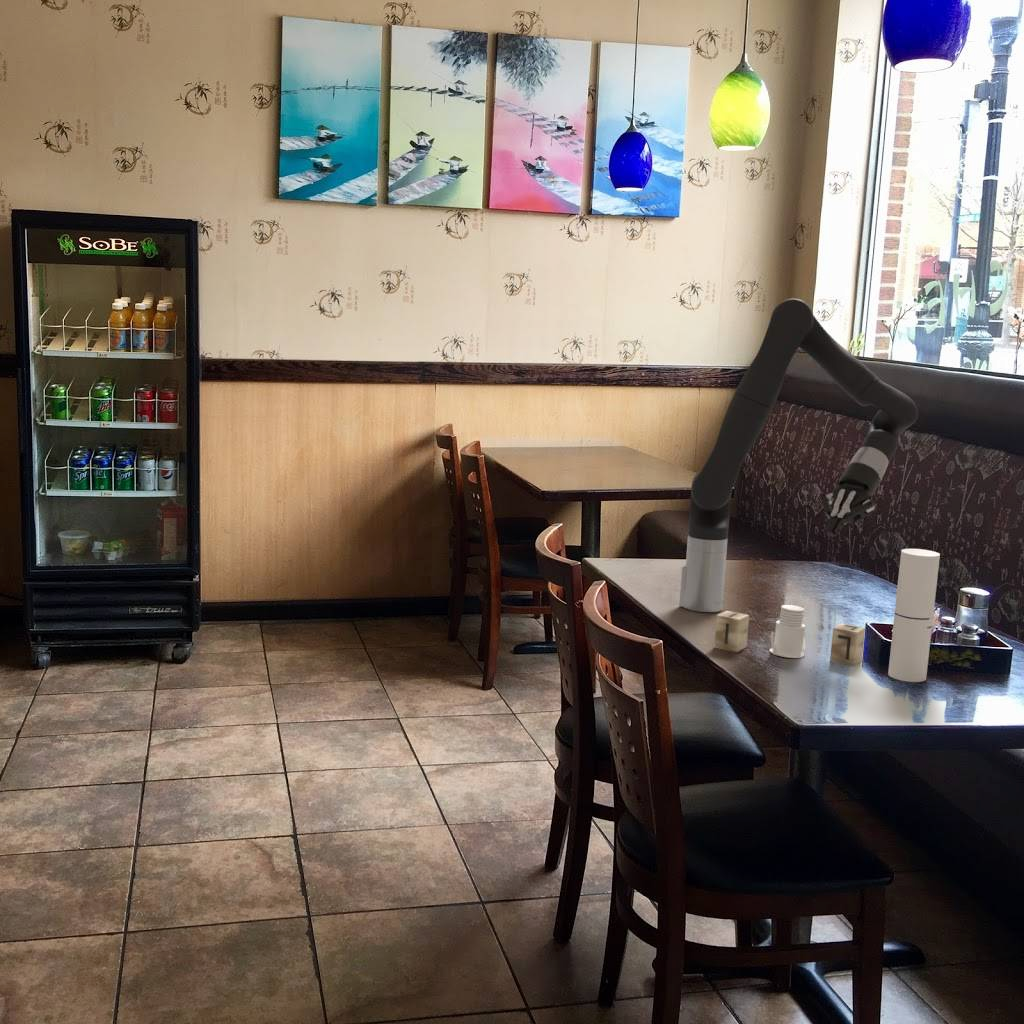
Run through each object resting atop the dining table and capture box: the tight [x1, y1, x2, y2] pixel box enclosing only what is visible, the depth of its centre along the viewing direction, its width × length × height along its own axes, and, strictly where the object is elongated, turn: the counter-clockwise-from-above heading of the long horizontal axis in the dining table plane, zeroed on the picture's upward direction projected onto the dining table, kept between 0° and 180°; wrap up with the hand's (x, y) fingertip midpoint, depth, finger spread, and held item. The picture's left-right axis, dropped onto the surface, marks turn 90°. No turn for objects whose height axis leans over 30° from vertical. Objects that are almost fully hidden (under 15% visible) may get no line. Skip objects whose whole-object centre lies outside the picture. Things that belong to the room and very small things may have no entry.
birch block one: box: [714, 610, 750, 653], centre depth 248 cm, size 5×5×7 cm
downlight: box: [769, 604, 807, 659], centre depth 245 cm, size 8×7×10 cm
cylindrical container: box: [887, 548, 941, 683], centre depth 232 cm, size 7×7×25 cm
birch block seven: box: [829, 622, 866, 667], centre depth 243 cm, size 5×5×7 cm
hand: (829, 534), depth 251 cm, fingers closed
